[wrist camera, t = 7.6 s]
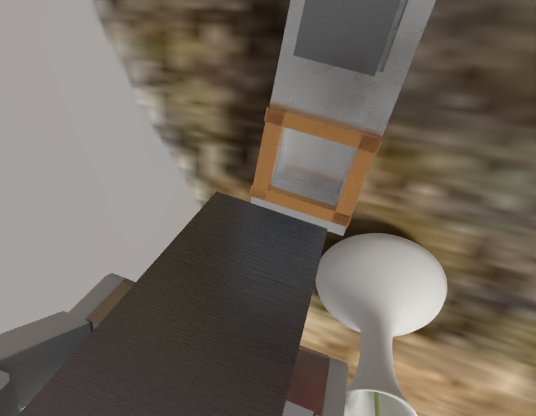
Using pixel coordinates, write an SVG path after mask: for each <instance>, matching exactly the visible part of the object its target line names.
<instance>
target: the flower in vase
mask: <svg viewBox="0 0 536 416" xmlns="http://www.w3.org/2000/svg"><path fill="white" fill-rule="evenodd" d="M315 282H316V287H317V291H318V294H319V297H320V299H321V301H322V303H323V305H324V306H325V308H326V309H327V310H328V311H329V312H330V313H331V314H332V315H333V316H334V317H335V318H336V319H337V320H339V321H340V322H342V323H343V324H344V325H346V326H348V327H349V328H351V329H353V330H356V331H358V332H361V350H360V358H359V363H358V367H357V371H356V373H355V376H354V379H353V381H352V382H351V384H350V386H349V387H348V388H347V389H346V400H345V411H344V416H417V414H416V412H415V410H414V409H413V407H412V406H411V405H410V404H409V403H408V401H407V400H406V399H405V398H404V396H403V395H402V393H401V391H400V388H399V386H398V383H397V380H396V376H395V371H394V365H393V357H392V339H393V336H400V335H404V334H408V333H410V332H413V331H415V330H417V329H420V328H422V327H423V326H425V325H427V324H428V323H429V322H431V321H432V320H433V319H434V318H435V317H436V316H437V314H438V313H439V311H440V310H441V308H442V306H443V303H444V301H445V298H446V294H447V280H446V275H445V273H444V270H443V268H442V267H441V265H440V263H439V262H438V261H437V259H436V258H435V257H434V256H433V255H432V254H431V253H430V252H429V251H427V250H426V249H425V248H423V247H422V246H420V245H418V244H417V243H415V242H413V241H411V240H408V239H405V238H403V237H399V236H395V235H390V234H385V233H367V234H361V235H356V236H352V237H349V238H346V239H344V240H342V241H340V242H338V243H336V244H335V245H333V246H332V247H331V248H329V249H328V250H327V251H326V252H325V253H324V255H323V256H322V257H321V259H320V262H319V267H318V271H317V275H316V279H315Z"/></svg>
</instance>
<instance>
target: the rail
mask: <svg viewBox="0 0 536 416" xmlns="http://www.w3.org/2000/svg"><path fill="white" fill-rule="evenodd" d="M435 1H436V0H401V1H400V4H399V7H398V10H397V13H396V16H395V19H394V22H393V24H392V27H391V30H390V33H389V36H388V39H387V42H386V45H385V48H384V50H383V53H382V56H381V59H380V62H379V65H378V68H377V71H376V74H375V76H370V75H366V74H362V73H359V72H355V71H351V70H347V69H343V68H339V67H336V66H332V65H328V64H324V63H320V62H316V61H313V60H309V59H305V58H301V57H297V56H293V54H294V49H295V45H296V40H297V36H298V31H299V26H300V22H301V17H302V13H303V8H304V3H305V0H291V1H290V6H289V11H288V16H287V21H286V26H285V31H284V36H283V41H282V46H281V51H280V56H279V61H278V66H277V71H276V77H275V82H274V87H273V92H272V97H271V102H270V105H269V106H268V107H267V109H266V114H265V119H264V121H265V126H264V131H263V137H262V142H261V147H260V152H259V157H258V162H257V167H256V172H255V177H254V182H253V184H252V186H251V191H250V196H252V198H251V203H252V204H255V205H258V206H261V207H264V208H267V209H270V210H273V211H276V212H279V213H282V214H285V215H288V216H291V217H294V218H297V219H300V220H303V221H306V222H309V223H312V224H315V225H318V226H321V227H324V228H327V231H329V232H332V233H335V234H338V235H341V236H343V235H344V233H345V230H346V227H348V226H349V223H350V221H351V218H352V213H353V210H354V207H355V205H356V202H357V200H358V197H359V194H360V192H361V189H362V187H363V184H364V182H365V179H366V177H367V174H368V172H369V169H370V167H371V164H372V161H373V159H374V156H375V154H377V152H378V150H379V147H380V145H381V142H382V136H383V134H384V131H385V128H386V126H387V123H388V121H389V118H390V116H391V113H392V111H393V108H394V106H395V103H396V100H397V98H398V95H399V93H400V90H401V88H402V85H403V83H404V80H405V78H406V75H407V73H408V70H409V67H410V65H411V62H412V60H413V57H414V55H415V52H416V50H417V47H418V45H419V42H420V40H421V37H422V34H423V32H424V29H425V27H426V24H427V22H428V19H429V17H430V14H431V12H432V9H433V7H434V4H435Z"/></svg>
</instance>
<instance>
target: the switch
mask: <svg viewBox="0 0 536 416" xmlns="http://www.w3.org/2000/svg"><path fill="white" fill-rule="evenodd" d="M400 1H401V0H305V3H304V8H303V13H302V17H301V22H300V26H299V31H298V36H297V40H296V45H295V49H294V54H293V56H297V57H301V58H305V59H309V60H313V61H316V62H320V63H324V64H328V65H332V66H336V67H339V68H343V69H347V70H351V71H355V72H359V73H362V74H366V75H370V76H375V74H376V71H377V68H378V65H379V62H380V59H381V56H382V53H383V50H384V48H385V45H386V42H387V39H388V36H389V33H390V30H391V27H392V24H393V22H394V19H395V16H396V13H397V10H398V7H399V4H400Z"/></svg>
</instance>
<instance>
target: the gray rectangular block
mask: <svg viewBox="0 0 536 416" xmlns="http://www.w3.org/2000/svg"><path fill="white" fill-rule="evenodd" d="M326 234H327V228H324V227H321V226H318V225H315V224H312V223H309V222H306V221H303V220H300V219H297V218H294V217H291V216H288V215H285V214H282V213H279V212H276V211H273V210H270V209H267V208H264V207H261V206H258V205H255V204H252V203H250V202H247V201H244V200H241V199H238V198H235V197H232V196H229V195H226V194H223V193H220V192H216V193H215V194H214V195H213V196H212V197H211V198H210V199H209V201H208V202H207V203H206V204H205V205H204V206H203V207H202V208H201V210H200V211H199V212H198V213H197V214H196V215H195V216H194V217H193V219H192V220H191V221H190V222H189V223H188V224H187V225H186V226H185V228H184V229H183V230H182V231H181V232H180V233H179V234H178V235H177V237H176V238H175V239H174V240H173V241H172V242H171V243H170V245H169V246H168V247H167V248H166V249H165V250H164V251H163V252H162V254H161V255H160V256H159V257H158V258H157V259H156V260H155V261H154V263H153V264H152V265H151V266H150V267H149V268H148V269H147V270H146V272H145V273H144V274H143V275H142V276H141V277H140V278H139V279H138V281H137V282H136V283H135V284H134V285H133V286H132V287H131V288H130V290H129V291H128V292H127V293H126V294H125V295H124V296H123V298H122V299H121V300H120V301H119V302H118V303H117V304H116V305H115V307H114V308H113V309H112V310H111V311H110V312H109V313H108V314H107V316H106V317H105V318H104V319H103V320H102V321H101V322H100V323H99V325H98V326H97V327H96V328H95V329H94V330H93V331H92V332H91V334H90V335H89V336H88V337H87V338H86V339H85V340H84V341H83V343H82V344H81V345H80V346H79V347H78V348H77V349H76V350H75V352H74V353H73V354H72V355H71V356H70V357H69V358H68V360H67V361H66V362H65V363H64V364H63V365H62V366H61V367H60V369H59V370H58V371H57V372H56V373H55V374H54V375H53V376H52V378H51V379H50V380H49V381H48V382H47V383H46V384H45V385H44V387H43V388H42V389H41V390H40V391H39V392H38V393H37V394H36V396H35V397H34V398H33V399H32V400H31V401H30V402H29V403H28V405H27V406H26V407H25V408H24V409H23V410H22V411H21V413H20V414H19V415H18V416H282V415H283V411H284V407H285V403H286V398H287V394H288V390H289V386H290V382H291V378H292V374H293V370H294V365H295V361H296V357H297V353H298V349H299V345H300V341H301V337H302V333H303V328H304V324H305V320H306V316H307V312H308V308H309V304H310V300H311V295H312V291H313V287H314V283H315V279H316V275H317V271H318V267H319V262H320V258H321V254H322V250H323V246H324V242H325V238H326Z"/></svg>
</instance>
